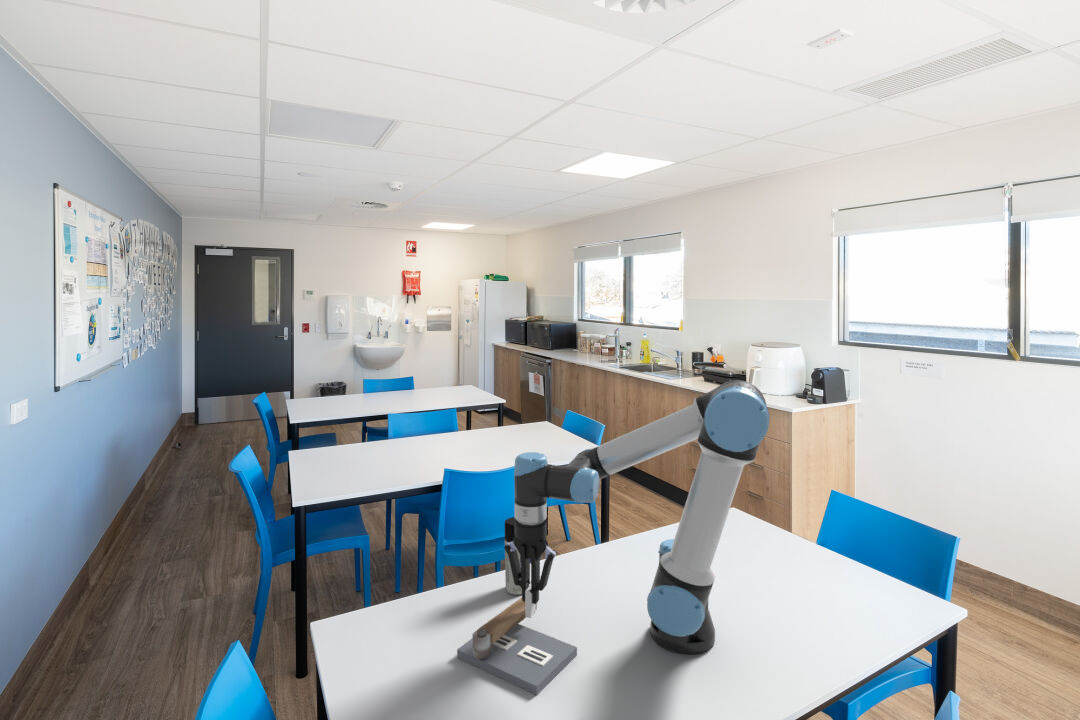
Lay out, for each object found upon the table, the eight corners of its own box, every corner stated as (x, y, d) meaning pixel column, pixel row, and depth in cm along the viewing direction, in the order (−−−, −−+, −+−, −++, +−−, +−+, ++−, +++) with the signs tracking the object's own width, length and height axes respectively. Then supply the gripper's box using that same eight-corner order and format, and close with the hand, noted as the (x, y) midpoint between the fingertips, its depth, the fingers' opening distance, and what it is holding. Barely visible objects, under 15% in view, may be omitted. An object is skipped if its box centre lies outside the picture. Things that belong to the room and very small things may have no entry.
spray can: (520, 598, 155) (520, 527, 153) (500, 591, 159) (499, 522, 157) (533, 587, 161) (533, 519, 159) (514, 581, 164) (513, 514, 162)
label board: (576, 655, 130) (576, 645, 130) (536, 695, 117) (536, 684, 117) (501, 624, 143) (501, 615, 143) (457, 657, 130) (457, 647, 129)
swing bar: (536, 618, 141) (536, 597, 141) (482, 661, 125) (482, 638, 124) (523, 613, 144) (523, 592, 143) (468, 654, 127) (468, 632, 126)
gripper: (498, 520, 133) (498, 616, 135) (550, 529, 128) (549, 629, 130) (512, 509, 140) (512, 601, 142) (562, 518, 134) (561, 612, 137)
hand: (530, 614), depth 136 cm, fingers closed
